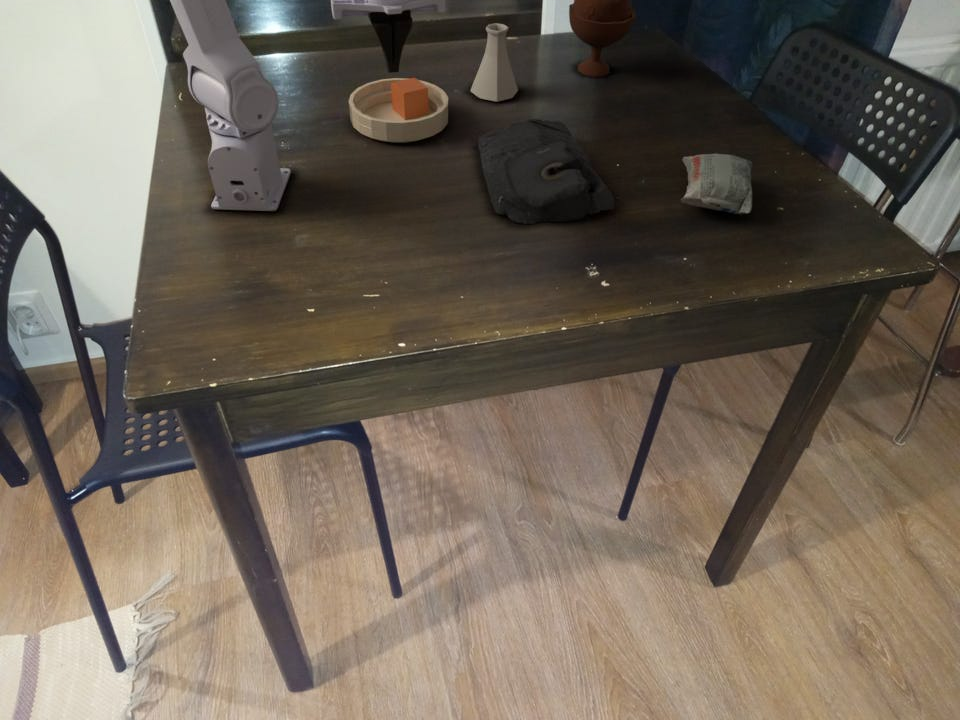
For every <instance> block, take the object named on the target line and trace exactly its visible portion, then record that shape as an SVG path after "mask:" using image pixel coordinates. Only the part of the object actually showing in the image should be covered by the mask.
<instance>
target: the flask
mask: <svg viewBox="0 0 960 720" xmlns="http://www.w3.org/2000/svg"><path fill="white" fill-rule="evenodd" d="M485 31H486V33H487V38H486V45H485V50H484V55H483V56H482V59H481V63H480V66H479V68H478V71H477V72H476V75H475V78H474V80H473V83H472V85H471V89H470V90H469V92H471V93H472V94H474V96H476V97H477V98H479V99H481V100H485V101H486V100H487V101H491V102H497V103H498V102H501V101H505V100H509V99H512V98H514V97H515V96H516V94H517V92H519V88H518V85H517V82H516V79H515V76H514V73H513V69H512V65H511V62H510V58H509V54H508V49H507V32H509V26H507V25H505V24H503V23H497V22H495V23H489V24H487V26H485Z"/></svg>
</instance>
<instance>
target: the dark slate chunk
mask: <svg viewBox="0 0 960 720" xmlns="http://www.w3.org/2000/svg"><path fill="white" fill-rule="evenodd" d="M477 143H478V146H477V147H478V150H479V154H480V156H479V158H480V162H481V164H482V165H481V168H482V172H483V178H485V183H486V185H487V187H486V188H487V192H488V194H489V196H490V203H492V207H493V210H494V212H495V213H496V214H498V215H500V216H503V217H507V218H508V219H510V221H511V223H513V224H517V225H518V224H523V225H528V224H532V225H534V224H535V223H538V222H550V223H554V222H555V223H556V222H558V223H562V222H570V221H577V220H582V219H584V218H585V217H587V216H594V215H595V214H597V213H599V214H600V211H608V210H614V207H615V203H616V200H615V198H614V197H613V193H612V192H611V190H610V189H609V188H608V186H607V185H606V183H605V182H604V181H603V180H602V179H601V177H600V176H599V175H598V174H597V173H596V171H595V170H594V169H593V168H592V166H591V161H590V160H589V159H588V156H587V154H586V153H585V152H584V151H583V150H582V148H581V147H580V144H579V143H578V142H577V141H576V140H575V139H574V137H573V136H572V133H571V131H570V130H569V128H568V127H567V126H566V124H565V123H563V122H562V121H559V120H548V119H545V120H543V119H541V118H540V119H538V118H531V119H526V120H523V121H519V122H516V123H513V124H511V125H508V126H506V127H504V128H499V129H494V130H490V131H488V132H487V133H484V134H482V135H480V136H479V137H478V139H477ZM589 191H590V192H589Z"/></svg>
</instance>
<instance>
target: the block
mask: <svg viewBox="0 0 960 720" xmlns="http://www.w3.org/2000/svg"><path fill="white" fill-rule="evenodd" d="M419 80H420V79H418V78H416V77H411V78H407V79H406V80H402V81H397V82H393V83H391V91H392V108H393V110H394V111H395V112H397V113H398V114H399V115H400V116H401V117H402V118H403V119H405V120H407V119H411V118H415V117H418V116H422V115H426V114H429V106H428V87H426V86H425V85H424V84H423V83H421V82H420V81H419Z"/></svg>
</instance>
